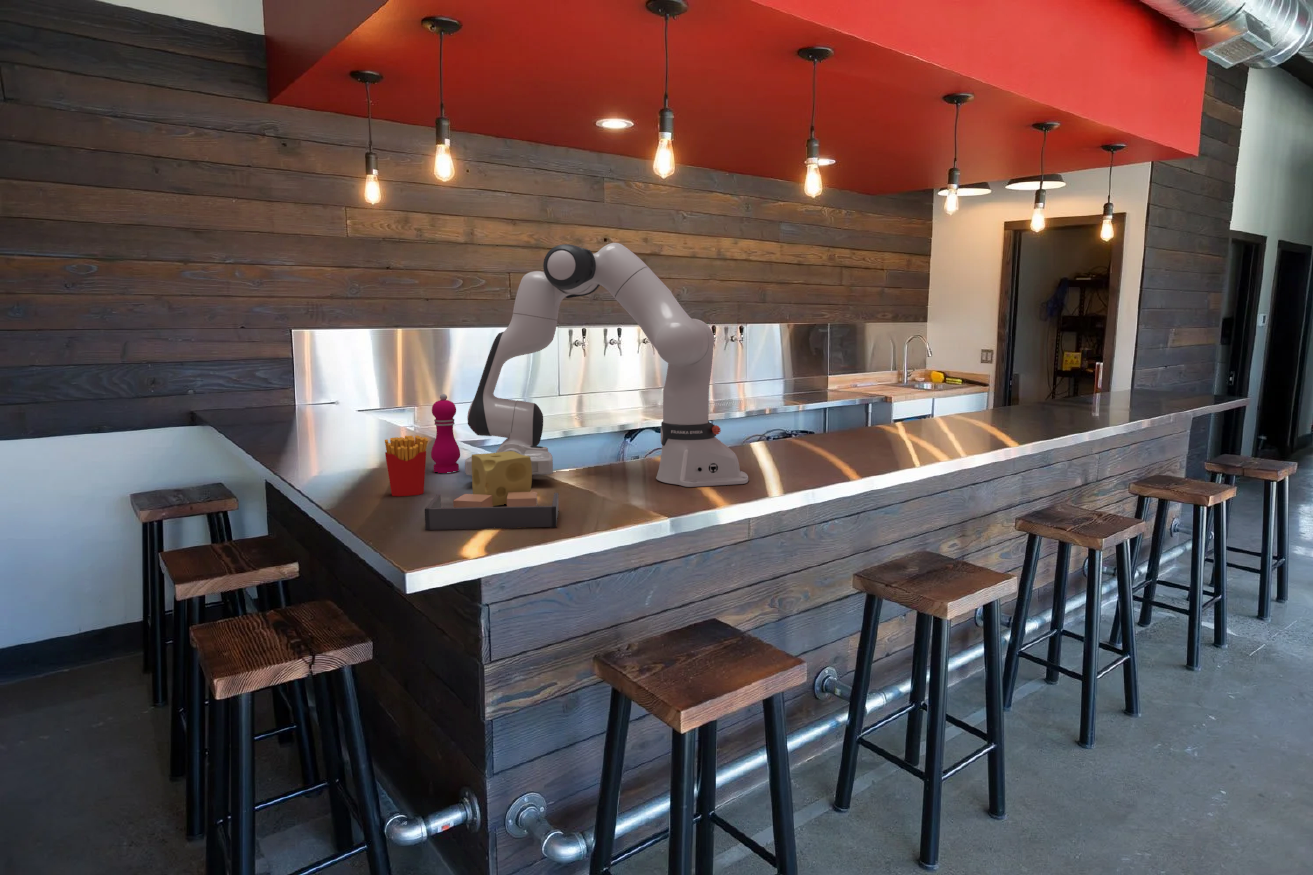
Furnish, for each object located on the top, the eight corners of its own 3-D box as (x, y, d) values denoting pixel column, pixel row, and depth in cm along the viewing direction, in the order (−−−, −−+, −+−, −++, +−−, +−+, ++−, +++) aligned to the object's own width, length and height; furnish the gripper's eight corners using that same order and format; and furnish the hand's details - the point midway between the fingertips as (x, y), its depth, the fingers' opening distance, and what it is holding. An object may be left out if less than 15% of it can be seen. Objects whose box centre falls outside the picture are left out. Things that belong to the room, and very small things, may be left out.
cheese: (486, 508, 166) (484, 461, 164) (470, 497, 175) (469, 453, 173) (533, 502, 171) (532, 456, 169) (515, 492, 180) (514, 449, 178)
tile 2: (537, 505, 169) (537, 491, 169) (536, 512, 163) (536, 498, 163) (508, 506, 168) (508, 492, 168) (507, 513, 162) (506, 498, 162)
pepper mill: (453, 474, 200) (450, 395, 196) (426, 473, 201) (423, 394, 198) (465, 469, 206) (462, 392, 203) (439, 468, 208) (436, 392, 205)
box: (558, 511, 163) (558, 492, 162) (556, 527, 151) (555, 506, 151) (437, 513, 161) (436, 494, 160) (425, 529, 149) (424, 509, 148)
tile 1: (492, 508, 166) (492, 494, 165) (482, 516, 160) (481, 501, 159) (465, 507, 167) (464, 493, 166) (453, 514, 161) (453, 500, 160)
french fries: (387, 497, 175) (384, 439, 173) (386, 493, 179) (383, 436, 177) (430, 494, 178) (428, 436, 176) (428, 490, 182) (426, 434, 180)
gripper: (468, 447, 191) (459, 458, 178) (554, 446, 193) (551, 457, 179) (469, 473, 192) (460, 486, 179) (554, 472, 194) (551, 484, 180)
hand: (506, 471), depth 179 cm, fingers closed
